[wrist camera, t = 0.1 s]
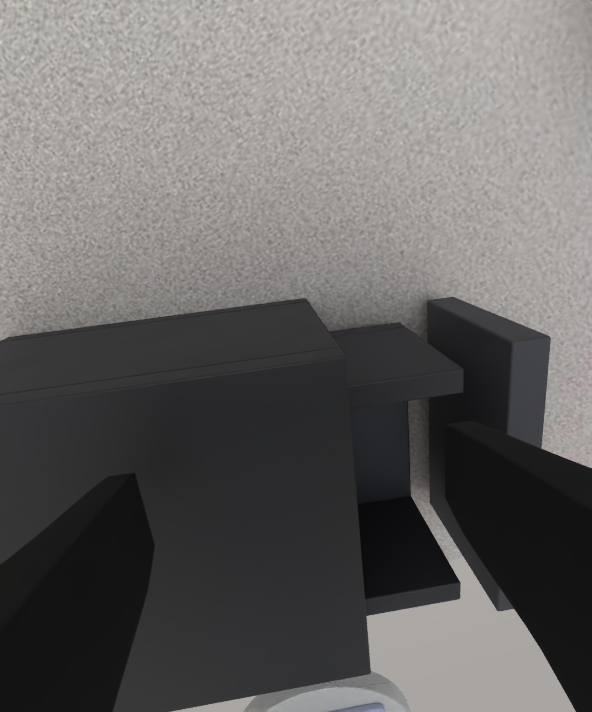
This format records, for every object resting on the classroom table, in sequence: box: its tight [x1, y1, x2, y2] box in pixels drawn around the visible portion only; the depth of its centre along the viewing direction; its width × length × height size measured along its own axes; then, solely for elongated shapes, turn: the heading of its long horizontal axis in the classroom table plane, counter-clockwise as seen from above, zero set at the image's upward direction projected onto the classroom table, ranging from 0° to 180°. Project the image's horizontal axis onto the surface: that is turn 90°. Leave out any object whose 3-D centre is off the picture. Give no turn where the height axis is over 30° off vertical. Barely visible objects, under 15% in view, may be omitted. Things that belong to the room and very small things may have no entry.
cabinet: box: [0, 298, 371, 712], centre depth 16 cm, size 13×12×8 cm
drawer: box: [329, 297, 551, 616], centre depth 17 cm, size 13×10×6 cm
